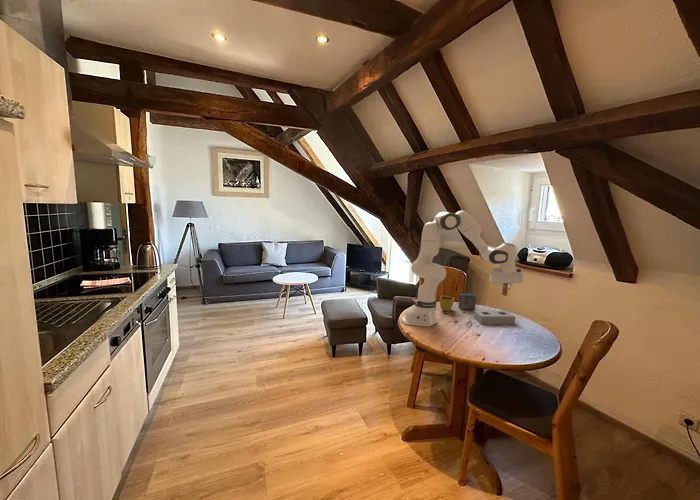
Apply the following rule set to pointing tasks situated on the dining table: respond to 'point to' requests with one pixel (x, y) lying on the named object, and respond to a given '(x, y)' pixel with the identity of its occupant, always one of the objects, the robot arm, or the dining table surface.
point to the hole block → (494, 317)
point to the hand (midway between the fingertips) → (504, 289)
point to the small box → (467, 301)
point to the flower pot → (446, 303)
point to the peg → (505, 289)
